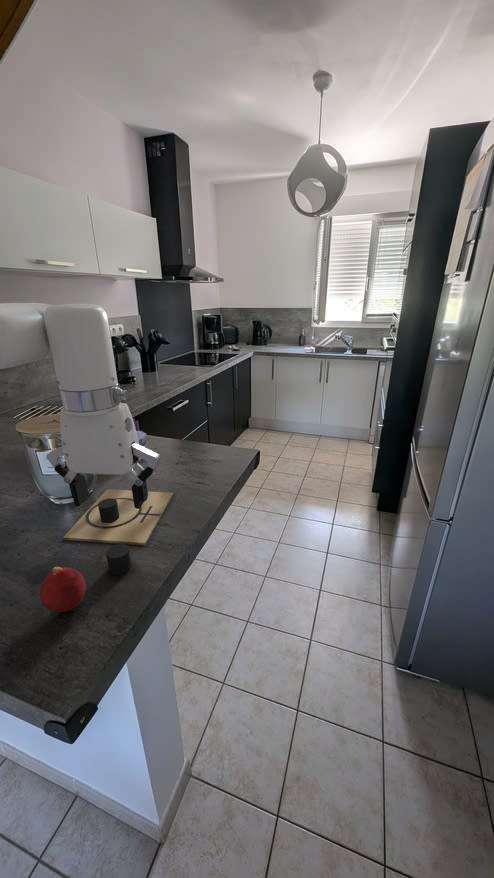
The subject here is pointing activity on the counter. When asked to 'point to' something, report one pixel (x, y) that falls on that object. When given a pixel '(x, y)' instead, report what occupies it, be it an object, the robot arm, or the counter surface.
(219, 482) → the counter surface
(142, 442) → the potion bottle
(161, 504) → the board
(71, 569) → the onion
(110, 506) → the dot
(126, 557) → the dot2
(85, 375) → the robot arm
